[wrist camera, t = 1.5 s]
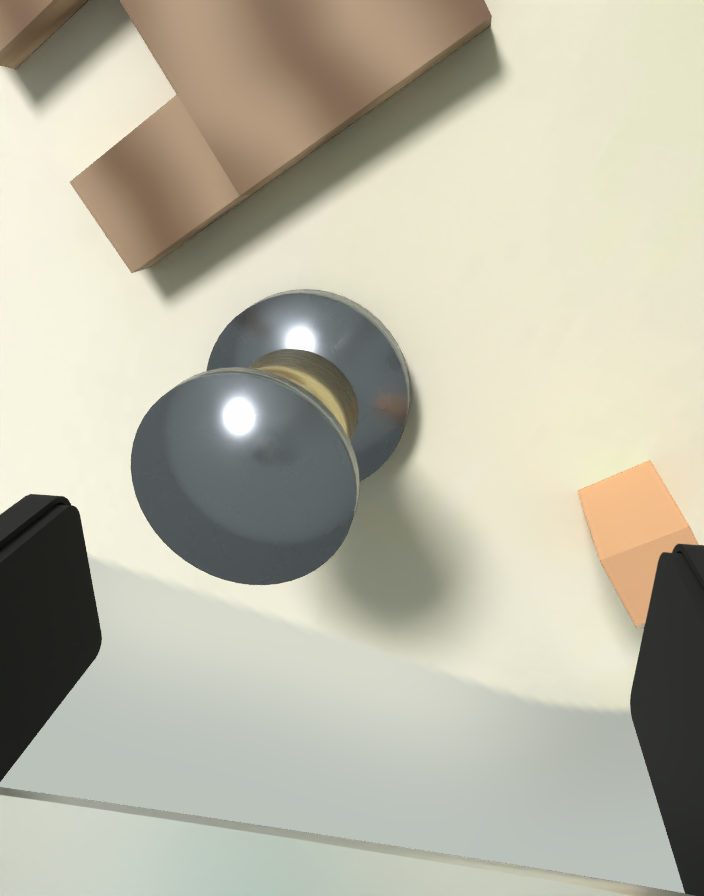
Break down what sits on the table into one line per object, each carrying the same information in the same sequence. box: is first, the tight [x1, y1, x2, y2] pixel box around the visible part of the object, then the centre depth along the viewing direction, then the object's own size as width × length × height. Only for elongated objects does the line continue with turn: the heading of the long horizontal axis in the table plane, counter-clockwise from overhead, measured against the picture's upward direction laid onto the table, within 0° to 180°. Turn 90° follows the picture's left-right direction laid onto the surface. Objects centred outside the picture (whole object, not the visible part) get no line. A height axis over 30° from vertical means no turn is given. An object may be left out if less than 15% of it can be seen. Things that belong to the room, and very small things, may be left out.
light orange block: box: [578, 460, 699, 627], centre depth 33 cm, size 4×4×7 cm
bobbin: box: [131, 289, 410, 585], centre depth 31 cm, size 11×11×12 cm
